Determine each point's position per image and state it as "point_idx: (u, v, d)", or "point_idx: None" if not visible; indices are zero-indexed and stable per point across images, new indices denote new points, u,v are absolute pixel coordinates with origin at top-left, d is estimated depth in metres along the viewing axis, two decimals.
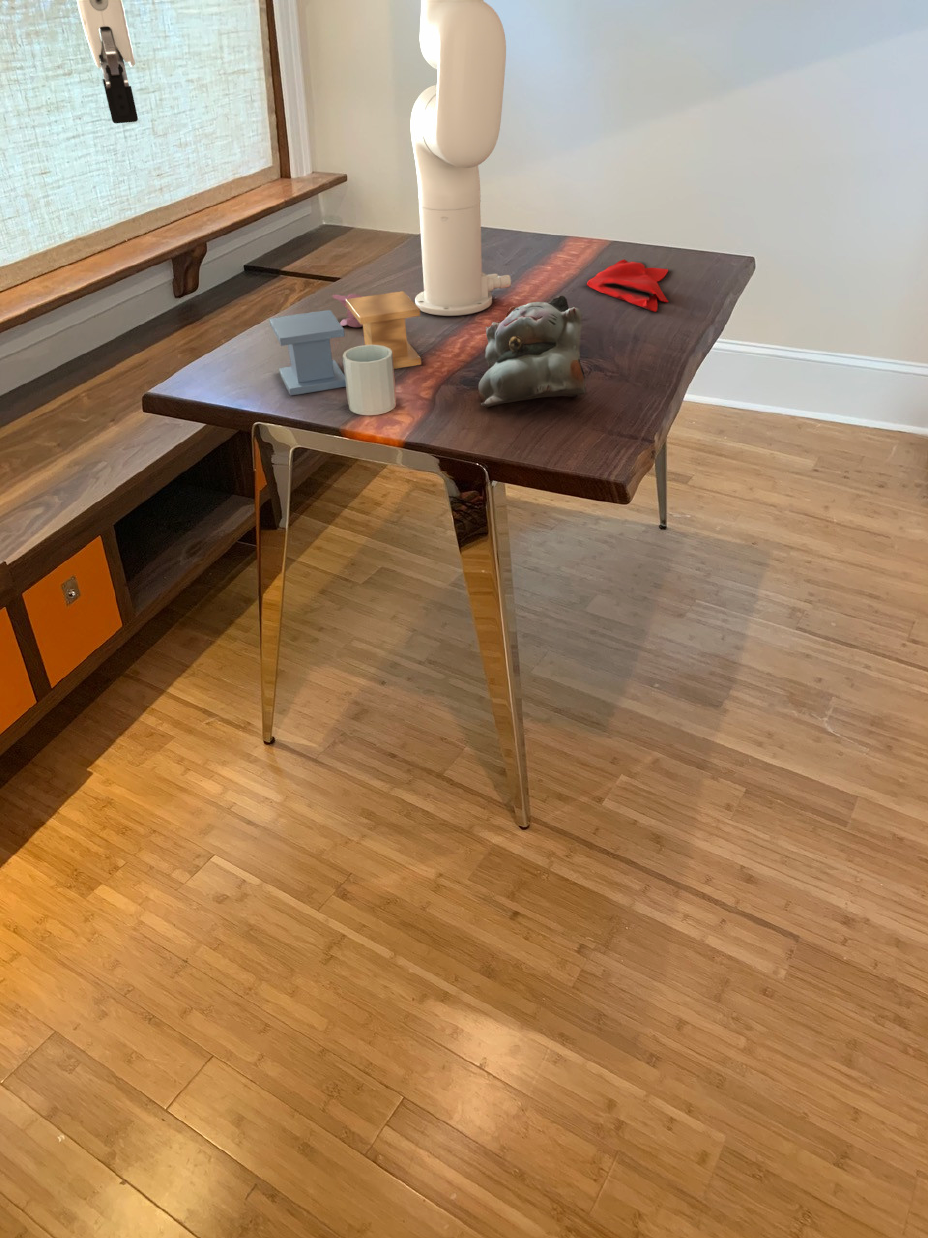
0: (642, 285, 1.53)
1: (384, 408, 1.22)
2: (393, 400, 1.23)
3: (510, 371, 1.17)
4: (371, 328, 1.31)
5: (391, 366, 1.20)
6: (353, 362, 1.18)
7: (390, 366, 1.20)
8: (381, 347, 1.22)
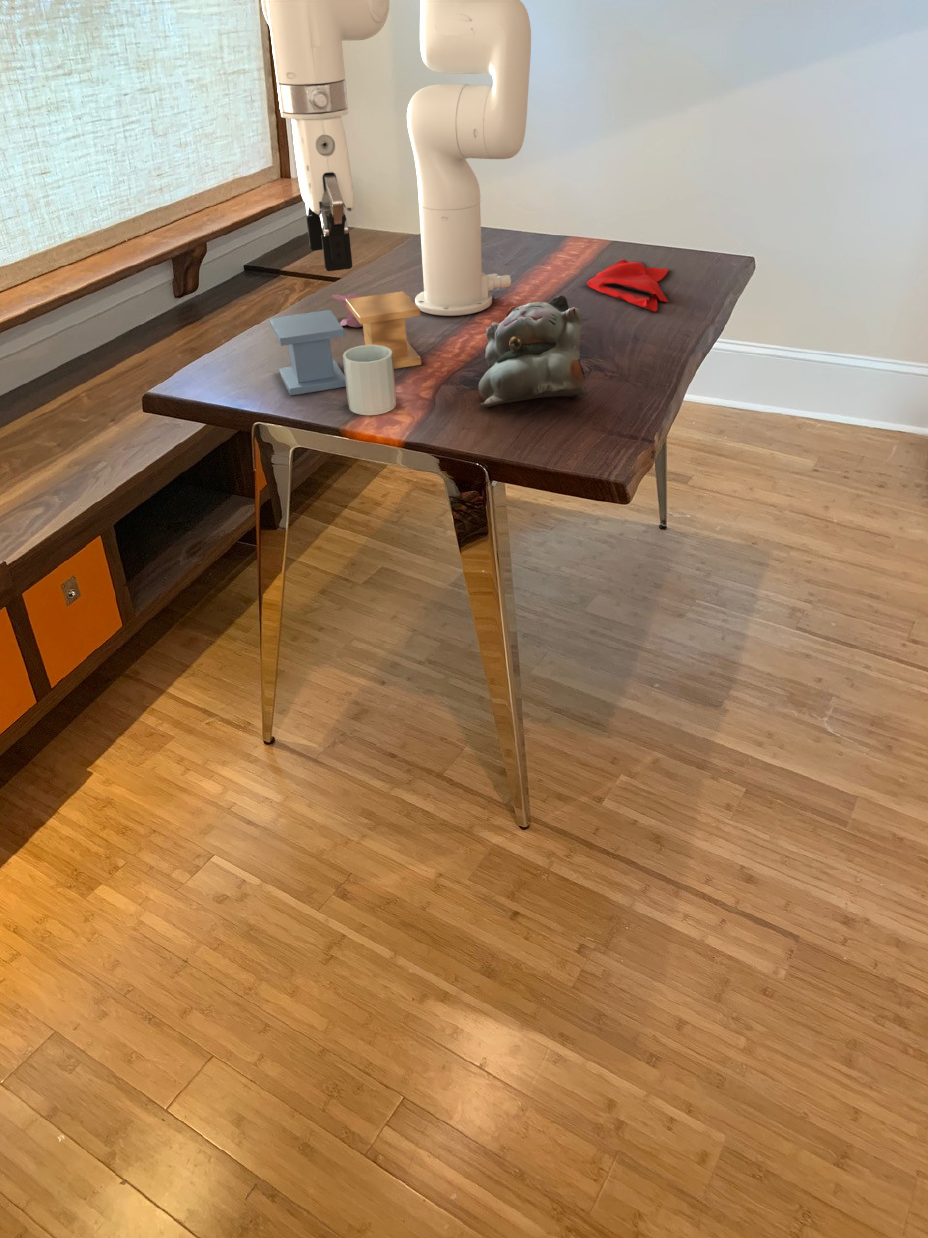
0: (642, 285, 1.53)
1: (384, 408, 1.22)
2: (393, 400, 1.23)
3: (510, 371, 1.17)
4: (371, 328, 1.31)
5: (391, 366, 1.20)
6: (353, 362, 1.18)
7: (390, 366, 1.20)
8: (381, 347, 1.22)
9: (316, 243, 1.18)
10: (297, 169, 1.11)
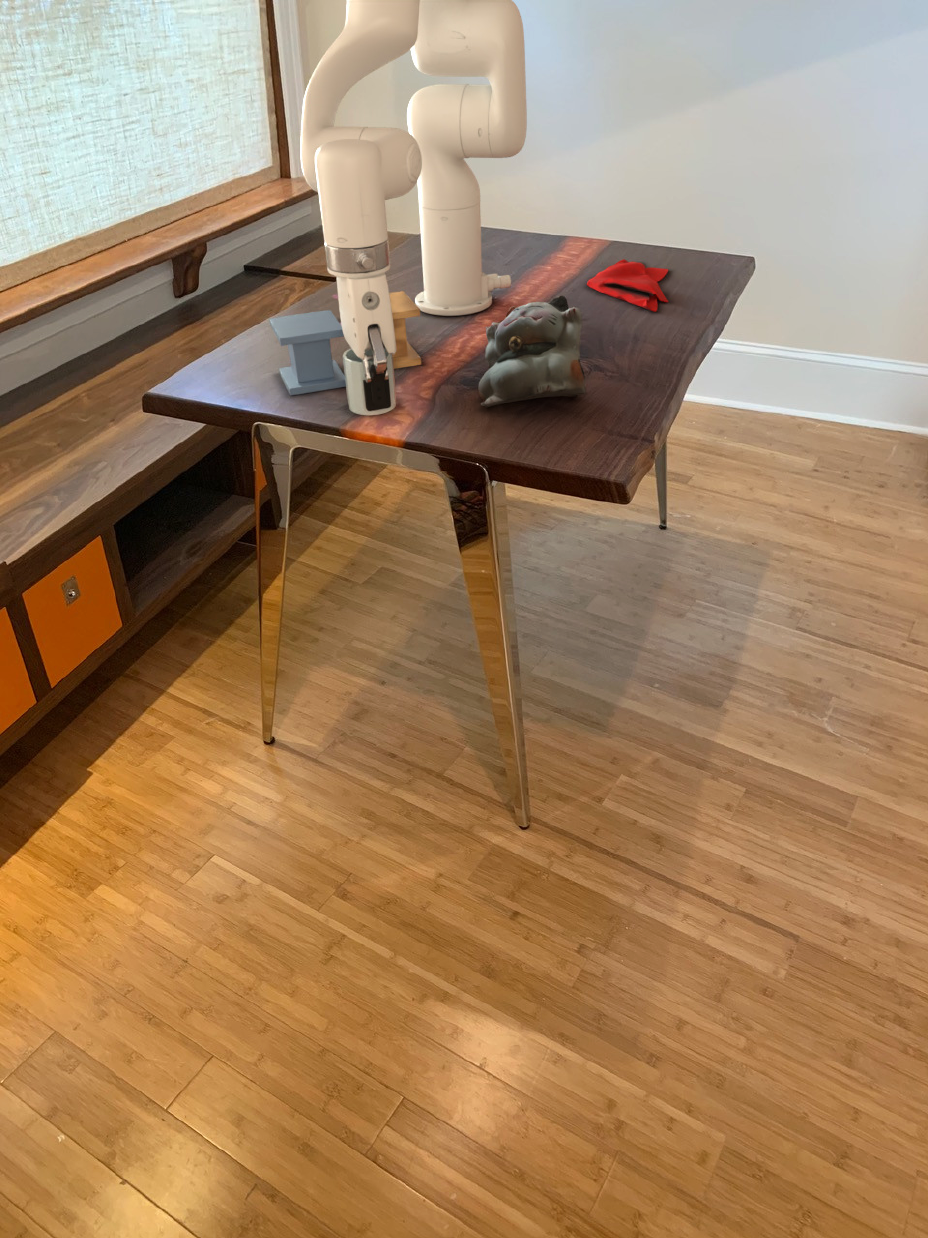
0: (642, 285, 1.53)
1: None
2: (393, 400, 1.23)
3: (510, 371, 1.17)
4: None
5: (391, 366, 1.20)
6: (353, 362, 1.18)
7: (390, 366, 1.20)
8: None
9: None
10: (340, 313, 1.19)
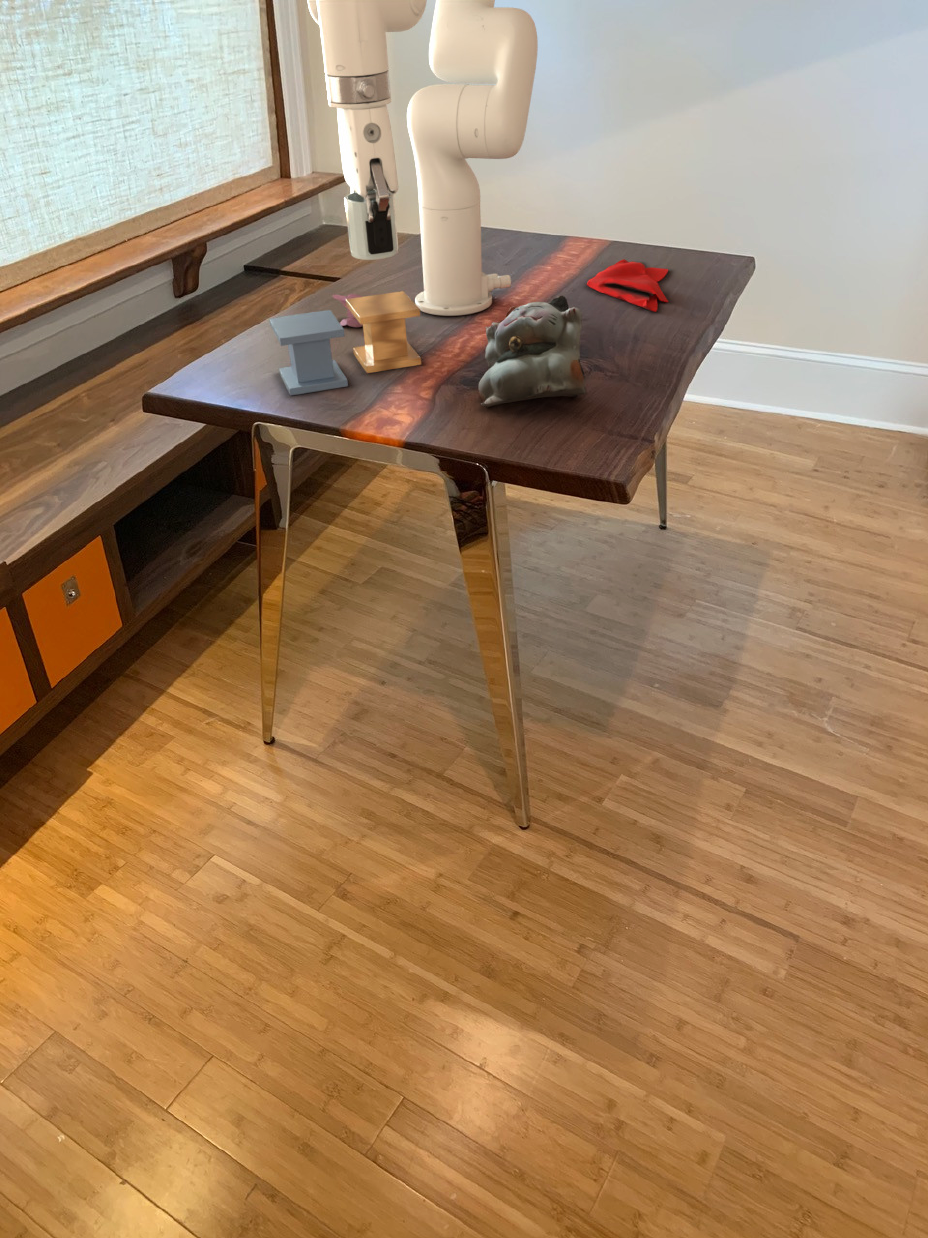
0: (642, 285, 1.53)
1: (386, 252, 1.22)
2: (395, 245, 1.23)
3: (510, 371, 1.17)
4: (371, 328, 1.31)
5: (393, 208, 1.20)
6: (355, 202, 1.18)
7: (392, 208, 1.20)
8: None
9: None
10: (342, 154, 1.19)
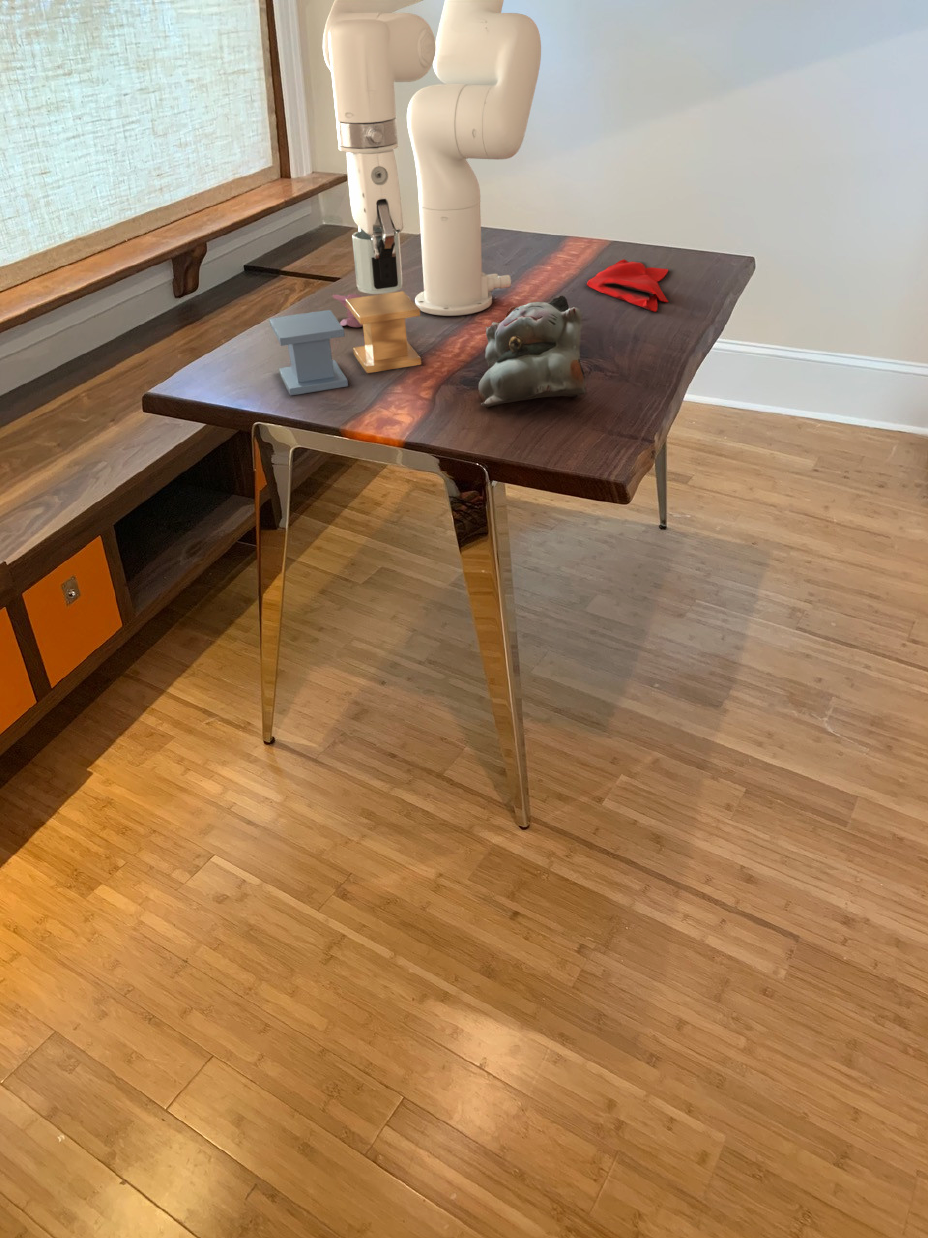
0: (642, 285, 1.53)
1: (391, 287, 1.28)
2: (399, 280, 1.29)
3: (510, 371, 1.17)
4: (371, 328, 1.31)
5: (398, 246, 1.27)
6: (362, 240, 1.25)
7: (397, 246, 1.26)
8: None
9: None
10: (350, 195, 1.25)
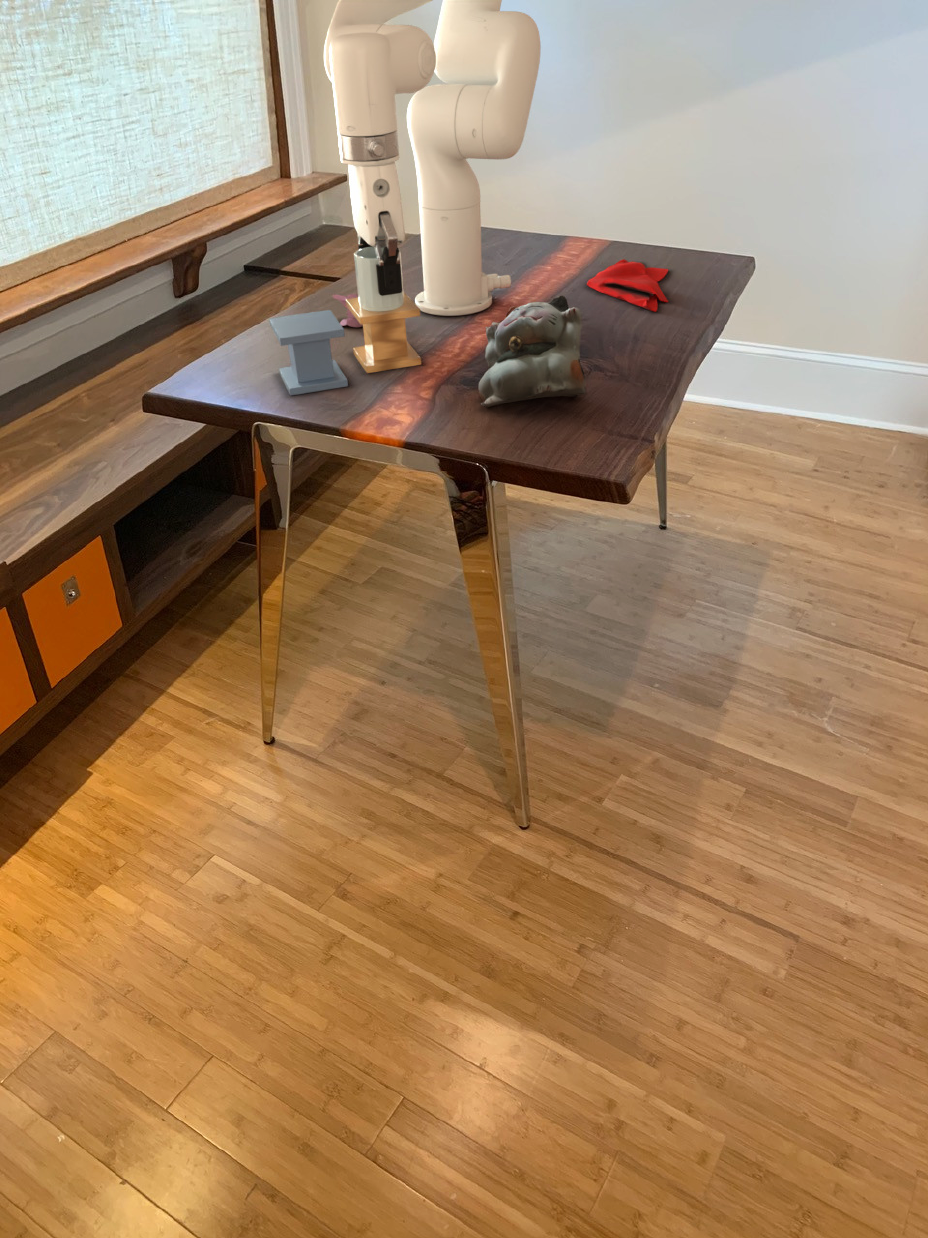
0: (642, 285, 1.53)
1: (393, 305, 1.30)
2: (401, 298, 1.31)
3: (510, 371, 1.17)
4: (371, 328, 1.31)
5: None
6: (364, 258, 1.26)
7: None
8: None
9: None
10: (352, 206, 1.26)
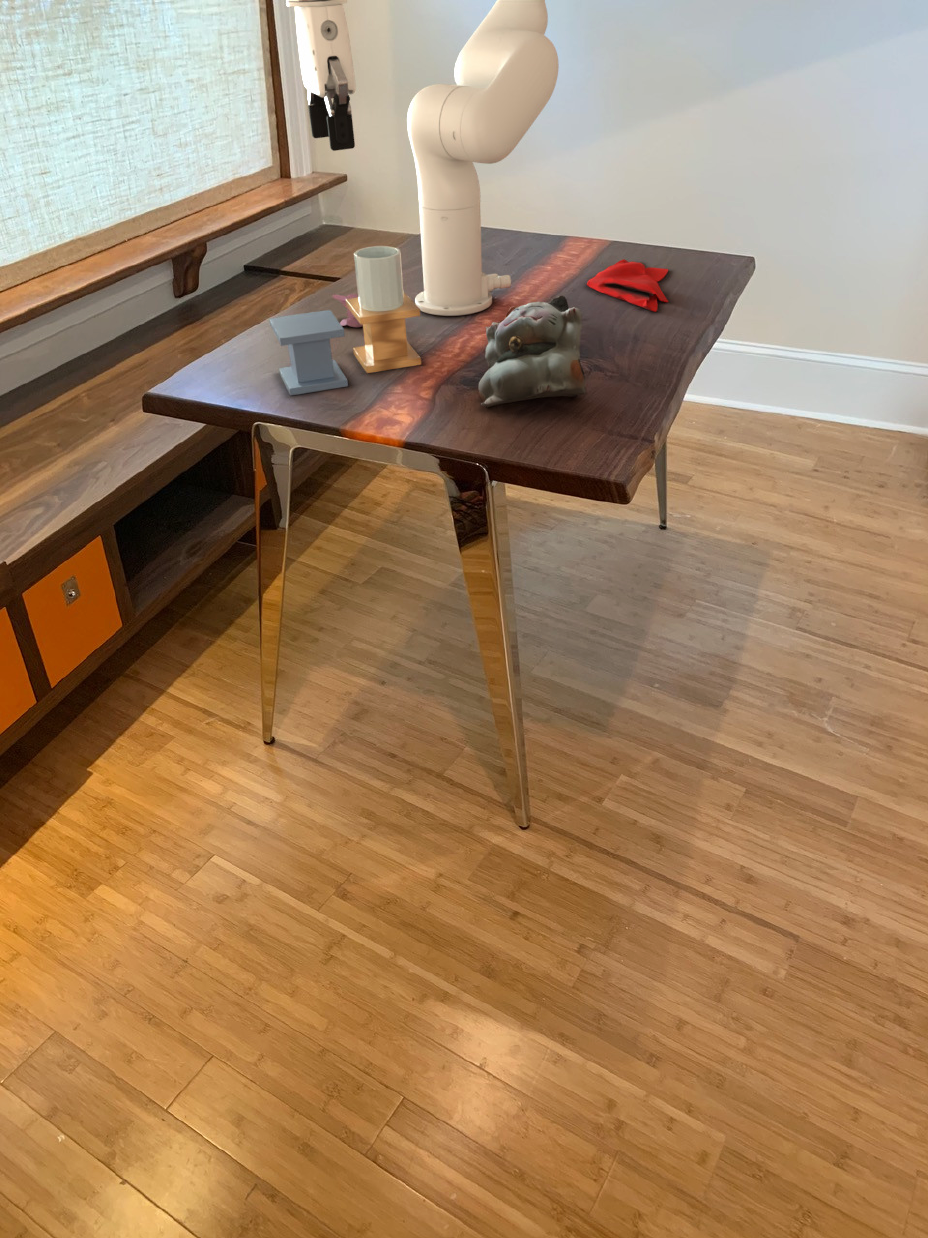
0: (642, 285, 1.53)
1: (393, 305, 1.30)
2: (401, 298, 1.31)
3: (510, 371, 1.17)
4: (371, 328, 1.31)
5: (399, 264, 1.28)
6: (364, 258, 1.26)
7: (398, 264, 1.28)
8: (390, 247, 1.30)
9: (318, 131, 1.30)
10: (301, 58, 1.23)
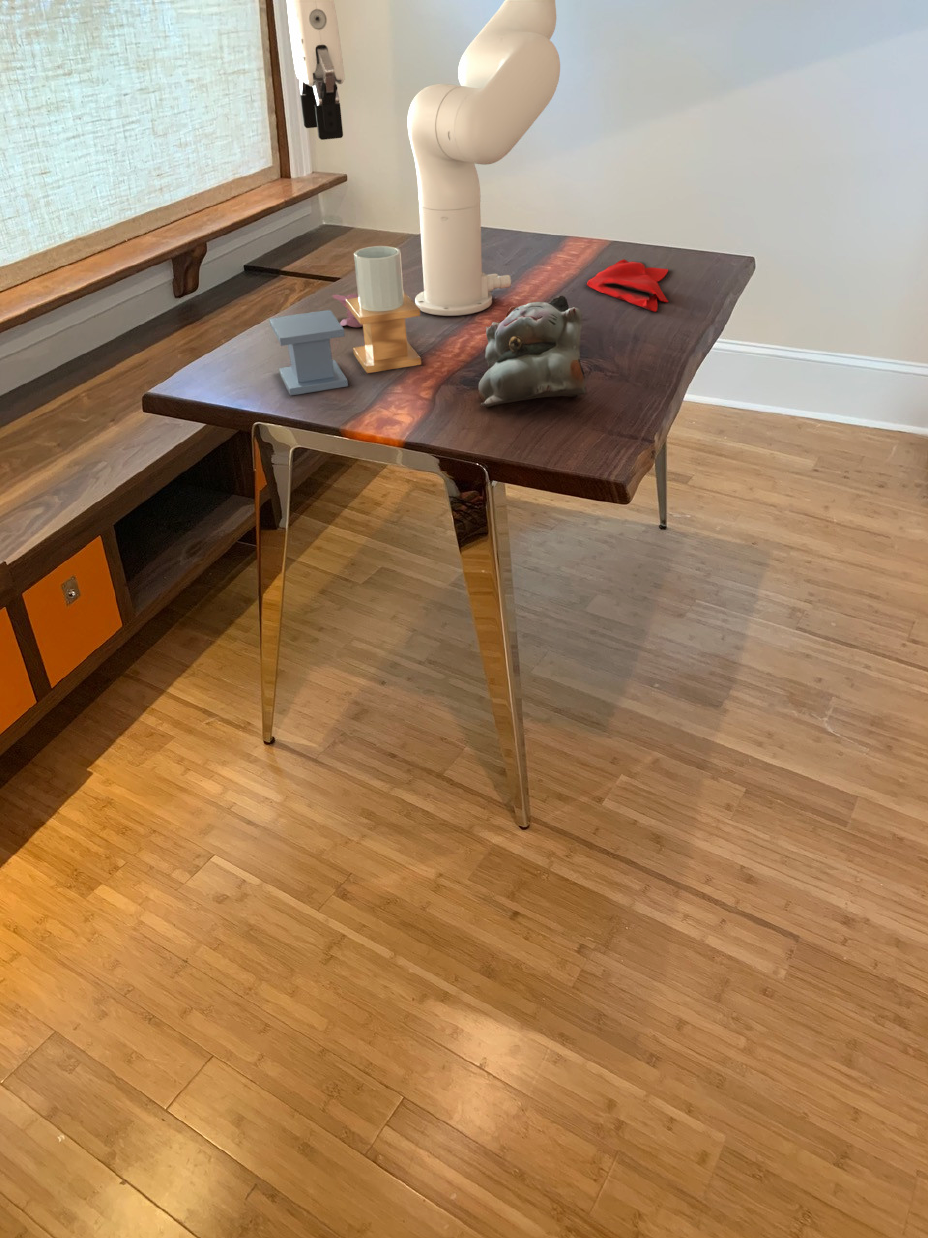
0: (642, 285, 1.53)
1: (393, 305, 1.30)
2: (401, 298, 1.31)
3: (510, 371, 1.17)
4: (371, 328, 1.31)
5: (399, 264, 1.28)
6: (364, 258, 1.26)
7: (398, 264, 1.28)
8: (390, 247, 1.30)
9: (309, 121, 1.31)
10: (292, 47, 1.24)
